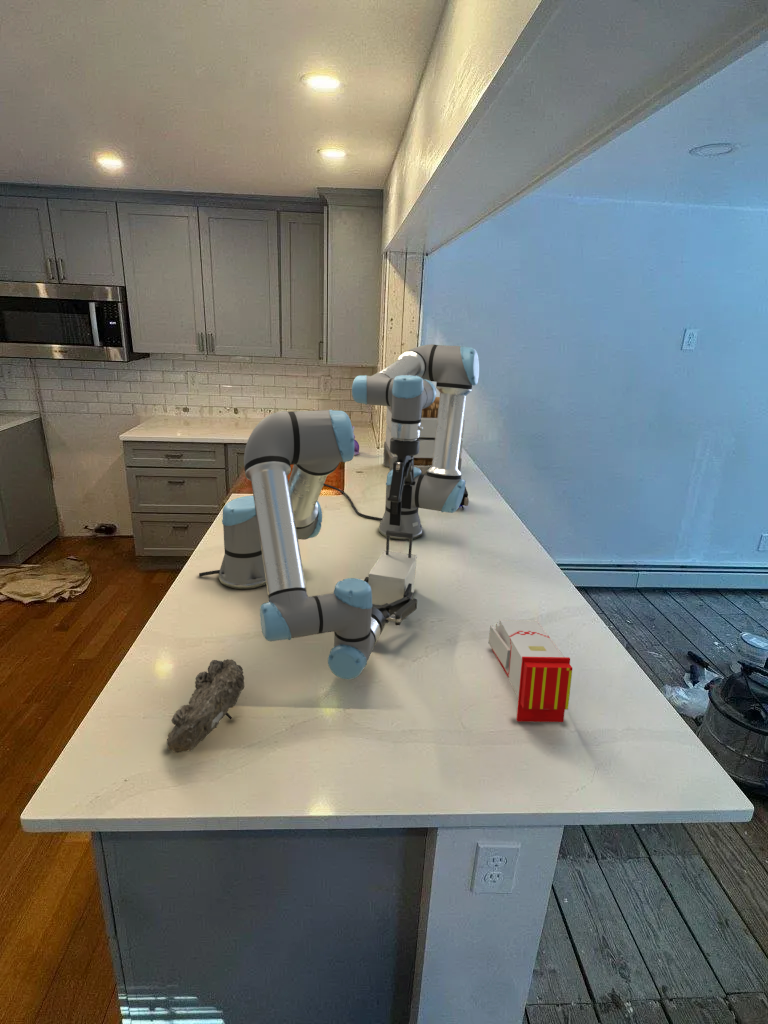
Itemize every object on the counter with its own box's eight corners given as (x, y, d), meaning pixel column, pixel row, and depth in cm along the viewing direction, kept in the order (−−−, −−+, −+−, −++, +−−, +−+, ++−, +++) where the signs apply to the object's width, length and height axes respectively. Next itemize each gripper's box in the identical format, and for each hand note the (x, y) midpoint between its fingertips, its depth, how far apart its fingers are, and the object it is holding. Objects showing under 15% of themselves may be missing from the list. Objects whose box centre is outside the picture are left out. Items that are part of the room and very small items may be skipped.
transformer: (382, 463, 289) (386, 382, 275) (445, 464, 293) (451, 384, 279) (390, 482, 257) (394, 392, 243) (460, 483, 261) (468, 394, 247)
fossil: (192, 660, 117) (244, 628, 112) (224, 691, 120) (276, 661, 115) (142, 746, 98) (202, 712, 93) (182, 779, 101) (242, 748, 96)
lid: (383, 553, 159) (385, 526, 157) (416, 558, 157) (418, 531, 154) (368, 577, 145) (369, 548, 142) (404, 583, 143) (406, 553, 140)
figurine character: (468, 514, 225) (463, 498, 239) (470, 497, 222) (465, 482, 235) (451, 514, 225) (447, 498, 238) (453, 497, 222) (449, 481, 235)
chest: (381, 585, 162) (383, 554, 159) (414, 590, 160) (416, 559, 157) (367, 611, 148) (368, 577, 145) (402, 617, 146) (404, 583, 143)
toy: (535, 605, 135) (581, 664, 106) (530, 657, 138) (574, 728, 108) (484, 604, 135) (517, 662, 105) (480, 656, 137) (511, 727, 108)
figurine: (347, 456, 298) (347, 428, 293) (339, 452, 307) (339, 424, 302) (363, 455, 303) (364, 427, 298) (355, 450, 311) (356, 423, 306)
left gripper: (316, 633, 131) (345, 590, 151) (414, 651, 126) (431, 604, 146) (316, 604, 128) (346, 565, 148) (416, 621, 123) (433, 578, 143)
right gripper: (409, 450, 132) (404, 534, 139) (428, 430, 155) (423, 503, 162) (378, 447, 134) (375, 530, 141) (401, 427, 157) (397, 500, 164)
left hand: (388, 584), depth 147 cm, fingers open, 11 cm apart
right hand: (400, 516), depth 152 cm, fingers open, 13 cm apart
